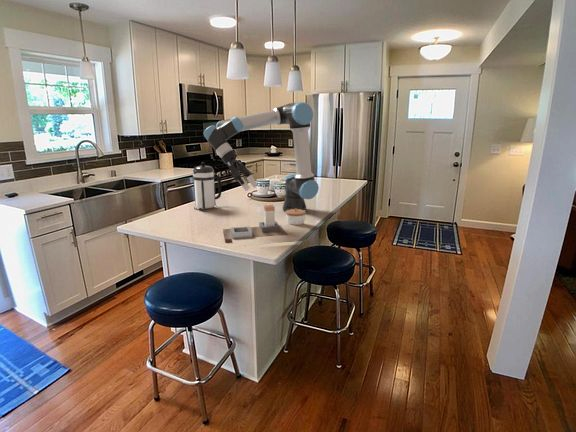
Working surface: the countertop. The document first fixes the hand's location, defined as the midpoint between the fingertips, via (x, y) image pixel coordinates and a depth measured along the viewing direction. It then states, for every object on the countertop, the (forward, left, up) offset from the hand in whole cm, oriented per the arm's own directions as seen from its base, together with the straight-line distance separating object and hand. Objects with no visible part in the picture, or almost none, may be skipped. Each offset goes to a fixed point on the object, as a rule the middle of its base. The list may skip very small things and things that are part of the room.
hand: (252, 187), depth 170 cm
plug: (-7, +6, -20) cm, 23 cm away
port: (+8, +12, -20) cm, 25 cm away
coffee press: (+23, -51, -22) cm, 60 cm away
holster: (-7, +6, -20) cm, 23 cm away
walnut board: (+1, +9, -22) cm, 24 cm away
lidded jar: (-23, -2, -22) cm, 32 cm away
